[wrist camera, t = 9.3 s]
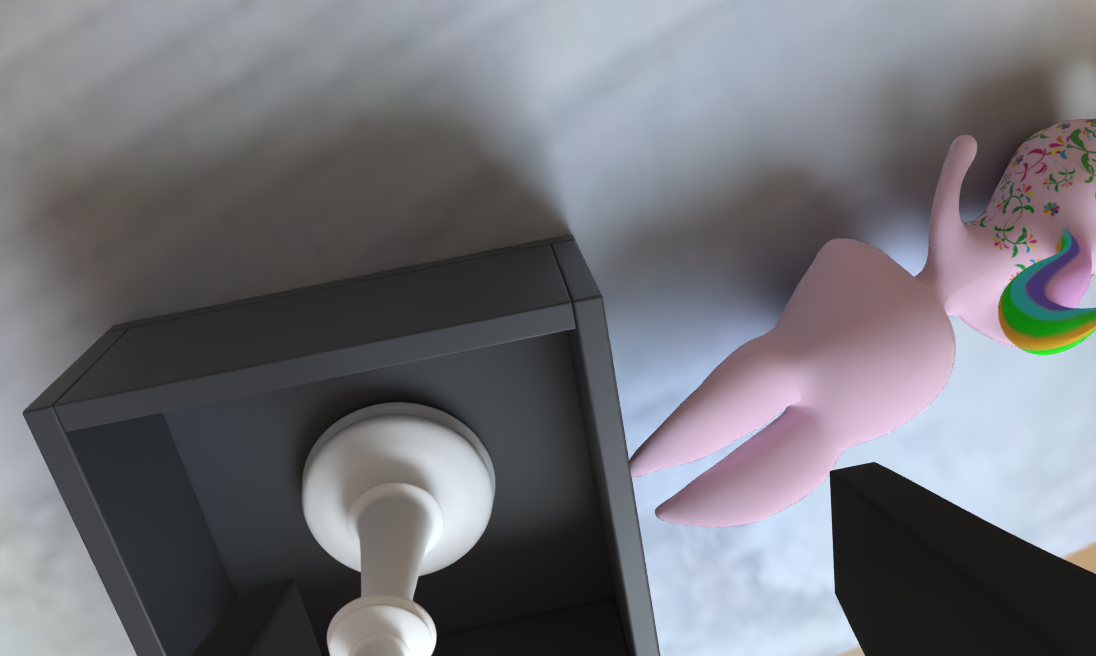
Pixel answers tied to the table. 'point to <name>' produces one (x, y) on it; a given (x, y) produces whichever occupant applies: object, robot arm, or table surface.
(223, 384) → the bin
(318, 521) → the chess piece
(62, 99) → the table surface
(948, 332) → the rabbit figure
